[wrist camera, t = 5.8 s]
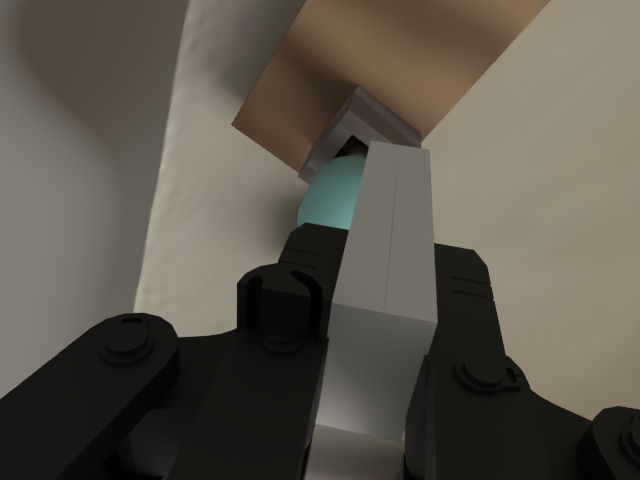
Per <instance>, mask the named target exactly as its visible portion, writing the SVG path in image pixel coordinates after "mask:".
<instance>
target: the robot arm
mask: <svg viewBox="0 0 640 480" xmlns="http://www.w3.org/2000/svg"><path fill="white" fill-rule="evenodd" d="M490 284H491V282H490V277H489V272H488V268H487V265H486V264H485V263H484V262H483V261H482V259H481V258H480V257H479V256H478V254H477V253H476V252H475V251H474V250H471V249H465V248H459V247H454V246H448V245H442V244H436V243H434V235H433V214H432V194H431V173H430V152H429V150H428V149H421V148H415V147H409V146H402V145H396V144H390V143H383V142H377V141H371V142H370V146H369V150H368V154H367V158H366V162H365V167H364V171H363V175H362V179H361V183H360V187H359V191H358V196H357V200H356V204H355V208H354V212H353V216H352V221H351V225H350V229H349V230H347V229H341V228H335V227H330V226H324V225H318V224H313V223H307V222H305V223H303V224H302V225H301V226H299V227H298V228H297V229H295V230H294V231H292V232H291V233H290V235H289V237H288V239H287V242H286V244H285V246H284V250H283V251H282V253H281V255H280V257H279V260H278V263H275V264H269V265H264V266H259V267H257V268H255V269H253V270H251V271H249V272H247V273H246V274H245V275H244V276H243V277H242V278H241V279H240V280H239V282H238V283H237V328H236V329H234V330H232V331H228V332H225V333H222V334H217V335H210V336H197V337H178V336H177V334H176V332H175V330H174V328H173V326H172V324H170V323H169V322H167V321H166V320H164V319H163V318H161V317H159V316H155V315H151V314H146V313H129V314H128V313H127V314H122V315H118V316H115V317H111V318H108V319H105V320H104V321H102V322H100V323H99V324H97V325H95V326H94V327H92V328H90V329H89V330H88V331H86V332H85V333H84V334H83V335H81V336H80V337H79V338H77V339H76V340H75V341H74V342H72V343H71V344H70V345H69V346H67V347H66V348H65V349H64V350H62V351H61V352H60V353H58V354H57V355H56V356H55V357H54V358H52V359H51V360H50V361H48V362H47V363H46V364H44V365H43V366H42V367H41V368H39V369H38V370H37V371H36V372H34V373H33V374H32V375H31V376H29V377H28V378H27V379H25V380H24V381H23V382H22V383H21V384H19V385H18V386H17V387H15V388H14V389H13V390H12V391H10V392H9V393H8V394H6V395H5V396H4V397H3V398H1V399H0V480H305V475H306V470H307V466H308V461H309V456H310V450H311V443H312V436H313V431H314V427H315V424H319V425H324V426H328V427H333V428H338V429H342V430H347V431H352V432H356V433H361V434H366V435H370V436H375V437H380V438H384V439H389V440H394V441H398V442H401V439H402V436H403V433H404V430H405V452H404V455H403V458H402V461H401V464H400V468H399V471H398V474H397V477H396V480H640V410H639V409H633V408H628V407H622V406H616V407H611V408H606V409H603V410H602V411H601V412H600V413H599V414H598V415H597V416H596V417H595V418H594V419H593V421H591V420H588V419H586V418H584V417H582V416H579V415H577V414H575V413H573V412H571V411H568V410H566V409H564V408H562V407H560V406H557V405H555V404H553V403H551V402H549V401H548V400H546V399H544V398H542V397H540V396H539V395H537V394H536V393H535V392H533V391H532V390H531V389H530V385H529V383H528V381H527V379H526V377H525V375H524V373H523V371H522V370H521V369H520V368H519V367H518V365H517V364H516V363H515V362H514V361H513V360H512V359H511V358H510V357H508V356H506V354H505V350H504V345H503V340H502V335H501V330H500V325H499V321H498V316H497V311H496V306H495V301H493V298H494V296H493V292H492V287H491V286H490ZM405 426H406V428H405Z"/></svg>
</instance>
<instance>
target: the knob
mask: <svg viewBox="0 0 640 480" xmlns="http://www.w3.org/2000/svg"><path fill="white" fill-rule="evenodd" d="M368 150H369V149H368V148H366V147H363V146H356V147H354V148H352V149H351V150H349V152H348V153H347V155H346V156H343V157H338V158H334V159H332V160H330V161H328V162H326V163H324V164H323V165H322V166H321V167H320V168H319V169H318V170H317V171H316V172H315V174H314V175H313V177H312V179H311V182H310V184H309V186H308V189H307V191H306V193H305V196H304V198H303V200H302V203H301V205H300V207H299V211H298V216H297V224H298V227H299V226H301V225H302V224H303V223H305V222H307V223H313V224H318V225H324V226H330V227H335V228H341V229H347V230H349V229H350V225H351V221H352V216H353V212H354V208H355V204H356V200H357V196H358V191H359V187H360V183H361V179H362V175H363V171H364V167H365V162H366V158H367V154H368Z"/></svg>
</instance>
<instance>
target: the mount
mask: <svg viewBox="0 0 640 480" xmlns="http://www.w3.org/2000/svg"><path fill="white" fill-rule="evenodd" d="M549 1H550V0H307V1H306V2H305V4H304V5H303V7H302V9H301V10H300V12H299V14H298V15H297V17H296V19H295V20H294V22H293V24H292V25H291V27H290V28H289V30H288V32H287V33H286V35H285V37H284V38H283V40H282V42H281V43H280V45H279V47H278V48H277V50H276V51H275V53H274V55H273V56H272V58H271V60H270V61H269V63H268V65H267V66H266V68H265V70H264V71H263V73H262V74H261V76H260V78H259V79H258V81H257V83H256V84H255V86H254V88H253V89H252V91H251V93H250V94H249V96H248V97H247V99H246V101H245V102H244V104H243V106H242V107H241V109H240V111H239V112H238V114H237V116H236V117H235V119H234V120H233V122H232V124H231V125H232V126H234V127H235V128H236V129H238V130H239V131H241V132H242V133H243V134H245V135H246V136H248V137H249V138H250V139H252V140H253V141H255V142H256V143H257V144H259V145H260V146H262V147H263V148H265V149H266V150H267V151H269V152H270V153H272V154H273V155H274V156H276V157H277V158H279V159H280V160H281V161H283V162H284V163H286V164H287V165H288V166H290V167H291V168H293V169H294V170H295V171H297V172H298V173H299V175H298V177H299V178H301V179H302V180H304V181H305V182H306V183H308V184H310V182H311V179H312V177H313V175H314V174H315V172H316V171H317V170H318V169H319V168H320V167H321V166H322V165H323V164H324V163H326V162H328V161H330V160H332V159H334V158H338V157H343V156H346V155H347V153H348V152H349V150H351V149H352V148H354V147H356V146H363V147H366V148H368V149H369V146H370V142H371V141H377V142H383V143H390V144H396V145H402V146H409V147H415V148H421V142H422V141H423V140H424V139H425V138H426V136H427V135H428V134H429V133H430V132H431V131H432V130H433V129H434V128H435V127H436V125H437V124H438V123H439V122H440V121H441V120H442V119H443V118H444V117H445V116H446V114H447V113H448V112H449V111H450V110H451V109H452V108H453V107H454V106H455V105H456V103H457V102H458V101H459V100H460V99H461V98H462V97H463V96H464V95H465V94H466V92H467V91H468V90H469V89H470V88H471V87H472V86H473V85H474V84H475V83H476V81H477V80H478V79H479V78H480V77H481V76H482V75H483V74H484V73H485V72H486V70H487V69H488V68H489V67H490V66H491V65H492V64H493V63H494V62H495V61H496V59H497V58H498V57H499V56H500V55H501V54H502V53H503V52H504V51H505V50H506V48H507V47H508V46H509V45H510V44H511V43H512V42H513V41H514V40H515V39H516V37H517V36H518V35H519V34H520V33H521V32H522V31H523V30H524V29H525V28H526V27H527V25H528V24H529V23H530V22H531V21H532V20H533V19H534V18H535V17H536V16H537V14H538V13H539V12H540V11H541V10H542V9H543V8H544V7H545V6H546V5H547V3H548V2H549Z"/></svg>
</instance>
